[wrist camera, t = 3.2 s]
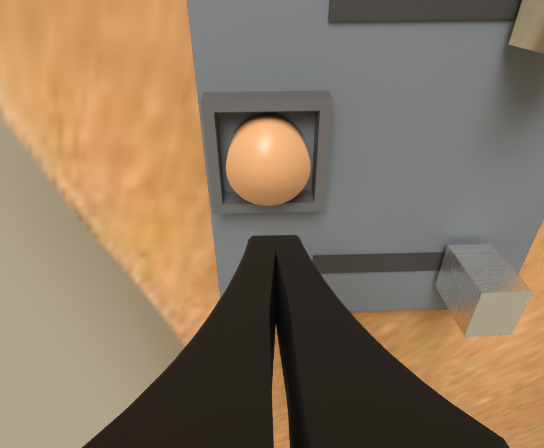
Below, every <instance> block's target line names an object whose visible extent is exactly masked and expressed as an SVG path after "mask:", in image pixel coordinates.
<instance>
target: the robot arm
mask: <svg viewBox="0 0 544 448" xmlns="http://www.w3.org/2000/svg"><path fill="white" fill-rule="evenodd" d="M275 327H276V328H277V335H278V342H279V349H280V356H281V362H282V369H283V376H284V383H285V390H286V397H287V407H288V419H289V437H290V448H509V446H508V445H507V443H506V441H505V440H504V439H503V438H502V437H500V436H499V435H497V434H496V433H494V432H493V431H491V430H490V429H488V428H487V427H486V426H484V425H483V424H481V423H480V422H478V421H477V420H475V419H474V418H472V417H471V416H469V415H468V414H466V413H465V412H463V411H462V410H461V409H459V408H458V407H456V406H455V405H453V404H452V403H450V402H449V401H448V400H446V399H445V398H444V397H442V396H441V395H440V394H438V393H437V392H436V391H435V390H433V389H432V388H431V387H429V386H428V385H427V384H425V383H424V382H423V381H422V380H420V379H419V378H418V377H417V376H416V375H415V374H413V373H412V372H411V371H410V370H409V369H408V368H406V367H405V366H404V365H403V364H402V363H401V362H399V361H398V360H397V359H396V358H395V357H394V356H393V355H391V354H390V353H389V352H388V351H387V350H386V349H385V348H384V347H383V346H382V345H381V344H380V343H379V342H378V341H377V340H376V339H375V338H374V337H372V336H371V335H370V333H369V332H368V331H367V330H366V329H365V328H364V327H363V326H362V325H361V324H360V323H359V322H358V321H357V320H356V319H355V317H354V316H353V315H352V314H351V313H350V312H349V311H348V309H347V308H346V307H345V306H344V305H343V303H342V302H341V301H340V300H339V298H338V297H337V296H336V295H335V293H334V292H333V291H332V289H331V288H330V287H329V285H328V284H327V282H326V281H325V280H324V278H323V277H322V275H321V274H320V273H319V271H318V270H317V268H316V266H315V265H314V263H313V262H312V260H311V258H310V257H309V255H308V253H307V252H306V250H305V248H304V246H303V244H302V242H301V239H300V238H299V237H298V236H297V235H264V236H251V237H250V238H249V239H248V243H247V246H246V249H245V252H244V255H243V257H242V259H241V261H240V264H239V266H238V268H237V270H236V272H235V274H234V276H233V277H232V279H231V281H230V283H229V285H228V287H227V289H226V290H225V292H224V293H223V295H222V297H221V298H220V300H219V301H218V303H217V305H216V306H215V308H214V309H213V311H212V312H211V314H210V315H209V317H208V318H207V320H206V321H205V322H204V324H203V325H202V327H201V328H200V329H199V330H198V332H197V333H196V334H195V336H194V337H193V338H192V340H191V341H190V342H189V343H188V344H187V346H186V347H185V348H184V349H183V350H182V351H181V353H180V354H179V355H178V356H177V357H176V359H175V360H174V361H173V362H172V363H171V364H170V365H169V366H168V368H167V369H166V370H165V371H164V372H163V373H162V374H161V375H160V376H159V377H158V378H157V379H156V380H155V381H154V382H153V383H152V384H151V385H150V386H149V387H148V388H147V389H146V390H145V391H144V392H143V393H142V394H141V395H140V396H139V397H138V398H137V399H136V400H135V401H134V402H133V403H132V404H131V405H130V406H129V407H128V408H127V409H126V410H125V411H124V412H122V413H121V414H120V415H119V416H118V417H117V418H115V419H114V420H113V421H112V422H111V423H110V424H109V425H107V426H106V427H105V428H104V429H103V430H102V431H101V432H99V433H98V434H97V435H96V436H95V437H94V438H93V439H91V440H90V441H89V442H88V443H87V444H86V445H85V446H83V447H82V448H274V444H273V415H272V377H273V360H274V344H275Z"/></svg>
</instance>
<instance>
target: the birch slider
mask: <svg viewBox="0 0 544 448" xmlns="http://www.w3.org/2000/svg"><path fill="white" fill-rule="evenodd" d="M509 45H512V46H516V47H520V48H524V49H528V50H531V51H535V52H539V53H543V54H544V0H522V2H521V5H520V9H519V12H518V15H517V19H516V22H515V25H514V28H513V32H512V35H511V38H510V41H509Z"/></svg>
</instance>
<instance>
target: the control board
mask: <svg viewBox="0 0 544 448" xmlns="http://www.w3.org/2000/svg"><path fill="white" fill-rule="evenodd" d="M521 2H522V0H187V6H188V15H189V23H190V32H191V41H192V50H193V59H194V68H195V76H196V85H197V94H198V103H199V112H200V121H201V129H202V138H203V147H204V156H205V165H206V173H207V182H208V191H209V200H210V209H211V218H212V226H213V235H214V244H215V253H216V262H217V271H218V279H219V288H220V297H222V295H223V293H224V292H225V290H226V289H227V287H228V285H229V283H230V281H231V279H232V277H233V276H234V274H235V272H236V270H237V268H238V266H239V264H240V261H241V259H242V257H243V255H244V252H245V249H246V246H247V243H248V239H249V238H250V237H251V236H264V235H297V236H298V237H299V238H300V239H301V242H302V244H303V246H304V248H305V250H306V252H307V253H308V255H309V257H310V258H311V260H312V262H313V263H314V265H315V266H316V268H317V270H318V271H319V273H320V274H321V275H322V277H323V278H324V280H325V281H326V282H327V284H328V285H329V287H330V288H331V289H332V291H333V292H334V293H335V295H336V296H337V297H338V298H339V300H340V301H341V302H342V303H343V305H344V306H345V307H346V308H347V309H348V311H349V312H352V311H387V310H423V309H448V307H447V305H446V304H445V302H444V300H443V299H442V297H441V295H440V293H439V292H438V290H437V288H436V286H435V284H436V281H437V277H438V274H439V271H440V268H441V264H442V261H443V258H444V255H445V251H446V248H447V245H454V244H491V245H492V246H493V247H494V248H495V249H496V250H497V251H498V253H499V254H500V255H501V256H502V257H503V258H504V259H505V260H506V262H507V263H508V264H509V265H510V266H511V267H512V268H513V270H514V271H515V272H516V273H517V274H519V272H520V269H521V267H522V265H523V263H524V261H525V258H526V256H527V254H528V252H529V250H530V247H531V245H532V243H533V241H534V239H535V237H536V234H537V232H538V230H539V228H540V226H541V223H542V221H543V219H544V54H543V53H539V52H535V51H531V50H528V49H524V48H520V47H516V46H512V45H509V41H510V38H511V35H512V32H513V28H514V25H515V22H516V19H517V15H518V12H519V9H520V5H521ZM263 113H272V114H278V115H281V116H283V117H285V118H287V119H289V120H290V121H292V122H293V123H294V124H295V125H296V126H297V127H298V128H299V130H300V131H301V133H302V135H303V138H304V141H305V144H306V148H307V151H308V155H309V158H310V175H309V179H308V181H307V183H306V185H305V187H304V188H303V189H302V191H301V192H300V193H299V194H298V195H297V196H295V197H294V198H293V199H291V200H289V201H287V202H285V203H282V204H279V205H274V206H262V205H257V204H253V203H251V202H248V201H247V200H245V199H243V198H242V197H240V196H239V195H238V194H237V193H236V192H235V191H234V189H233V188H232V186H231V185H230V183H229V181H228V178H227V173H226V161H227V155H228V150H229V144H230V140H231V137H232V135H233V133H234V131H235V129H236V128H237V127H238V126H239V125H240V124H241V123H242V122H243V121H245V120H246V119H248V118H250V117H251V116H254V115H258V114H263Z"/></svg>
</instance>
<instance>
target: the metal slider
mask: <svg viewBox="0 0 544 448" xmlns="http://www.w3.org/2000/svg"><path fill="white" fill-rule="evenodd" d="M435 286H436V288H437V290H438V292H439V293H440V295H441V297H442V299H443V300H444V302H445V304H446V305H447V307H448V309H449V311H450V312H451V314H452V316H453V318H454V319H455V321H456V323H457V325H458V326H459V328H460V330H461V332H462V333H463V335H464V337H469V336H503V335H511V334H512V332H513V330H514V328H515V326H516V324H517V322H518V320H519V318H520V316H521V314H522V312H523V310H524V308H525V306H526V304H527V302H528V300H529V298H530V296H531V294H532V292H533V291H532V290H531V289H530V288H529V287H528V286H527V284H526V283H525V282H524V281H523V280H522V279H521V278H520V276H519V275H518V274H517V273H516V272H515V271H514V270H513V268H512V267H511V266H510V265H509V264H508V263H507V262H506V260H505V259H504V258H503V257H502V256H501V255H500V254H499V253H498V251H497V250H496V249H495V248H494V247H493V246H492V245H491V244H454V245H447V248H446V251H445V255H444V258H443V261H442V264H441V268H440V271H439V274H438V277H437V281H436V284H435Z"/></svg>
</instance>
